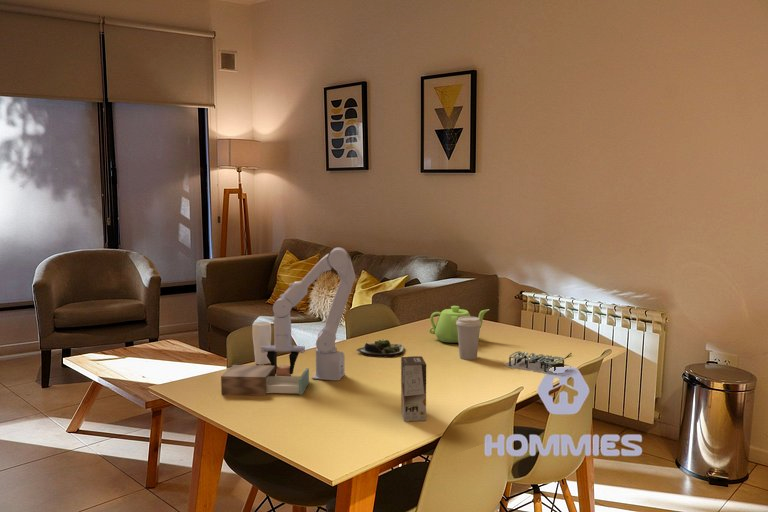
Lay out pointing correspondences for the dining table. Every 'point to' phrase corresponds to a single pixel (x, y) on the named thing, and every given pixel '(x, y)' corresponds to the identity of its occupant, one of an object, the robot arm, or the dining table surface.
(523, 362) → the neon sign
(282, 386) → the tray
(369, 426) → the dining table surface
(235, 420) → the dining table surface
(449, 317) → the teapot
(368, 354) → the salad plate
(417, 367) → the coffee box
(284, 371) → the puck
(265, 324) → the white tall block
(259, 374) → the cabinet
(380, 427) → the dining table surface
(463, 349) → the coffee cup
